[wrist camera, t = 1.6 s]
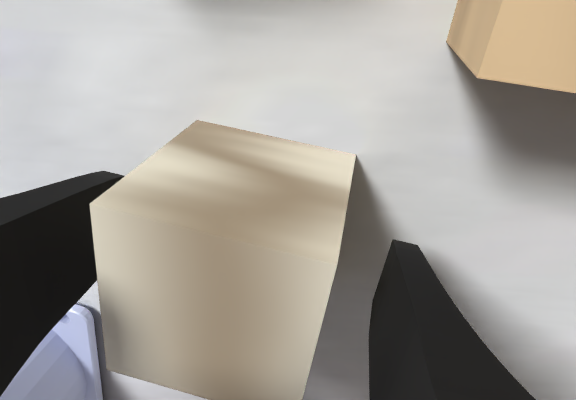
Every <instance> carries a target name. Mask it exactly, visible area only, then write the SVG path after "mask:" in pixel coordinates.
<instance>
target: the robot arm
mask: <svg viewBox="0 0 576 400" xmlns="http://www.w3.org/2000/svg"><path fill="white" fill-rule="evenodd" d="M123 177H124V176H123V175H119V174H115V173H110V172H106V171H100V172H95V173H90V174H86V175H82V176H78V177H75V178H71V179H68V180H64V181H61V182H57V183H54V184H50V185H47V186H43V187H40V188H36V189H33V190H29V191H26V192H22V193H19V194H15V195H11V196H7V197H3V198H0V400H103V395H102V387H101V379H100V370H99V362H98V353H97V345H96V336H95V328H94V320H93V316H92V313H91V312H90V311H89V310H88V309H87V308H85V307H83V306H80V305H76V304H75V303H76V302H77V301H78V300H79V299H80V298H81V297H82V296H83V295H84V294H85V293H86V292H87V290H88V289H89V288H90V287H91V286H92V285H93V284H94V283H95V282H96V281H97V272H96V262H95V253H94V243H93V233H92V224H91V214H90V203H91V202H92V201H94V200H95V199H96V198H98V197H99V196H100V195H101V194H103V193H104V192H105V191H107V190H108V189H109V188H110V187H112V186H113V185H114V184H116V183H117V182H118V181H119V180H121V179H122V178H123ZM369 389H370V400H536V399H534V398H533V397H532V396H531V395H530V394H529V393H528V392H527V391H526V390H525V389H524V388H523V387H522V385H521V384H520V383H519V382H518V381H517V380H516V379H515V378H514V377H513V376H512V375H511V374H510V373H509V372H508V370H507V369H506V368H505V367H504V366H503V365H502V364H501V363H500V361H499V360H498V359H497V358H496V357H495V356H494V355H493V354H492V352H491V351H490V350H489V349H488V348H487V346H486V345H485V344H484V343H483V342H482V340H481V339H480V338H479V337H478V335H477V334H476V333H475V331H474V330H473V329H472V327H471V326H470V325H469V323H468V322H467V321H466V320H465V318H464V317H463V316H462V314H461V313H460V311H459V310H458V308H457V307H456V306H455V304H454V303H453V301H452V300H451V298H450V297H449V295H448V294H447V292H446V291H445V289H444V288H443V286H442V284H441V283H440V281H439V280H438V278H437V276H436V275H435V273H434V271H433V270H432V268H431V266H430V265H429V263H428V261H427V260H426V258H425V257H424V255H423V253H422V252H421V250H420V248H419V247H418V245H415V244H411V243H406V242H402V241H398V240H394V239H393V241H392V244H391V247H390V250H389V253H388V256H387V259H386V262H385V265H384V268H383V271H382V274H381V277H380V280H379V283H378V286H377V289H376V292H375V295H374V298H373V302H372V311H371V319H370V329H369Z"/></svg>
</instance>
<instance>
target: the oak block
mask: <svg viewBox="0 0 576 400" xmlns="http://www.w3.org/2000/svg"><path fill="white" fill-rule="evenodd" d="M446 42H447V43H448V45H449V46H450V47H451V48H452V49H453V50H454V52H455V53H456V54H457V55H458V56H459V57H460V59H461V60H462V61H463V62H464V63H465V64H466V66H467V67H468V68H469V69H470V70H471V72H472V73H473V74H474V75H475V76H476V77H477V78H481V79H487V80H494V81H500V82H506V83H513V84H519V85H526V86H532V87H538V88H545V89H551V90H558V91H564V92H571V93H576V0H458V2H457V5H456V9H455V13H454V16H453V20H452V23H451V27H450V30H449V34H448V37H447V41H446Z"/></svg>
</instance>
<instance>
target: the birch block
mask: <svg viewBox="0 0 576 400" xmlns="http://www.w3.org/2000/svg"><path fill="white" fill-rule="evenodd" d="M355 158H356V154H351V153H346V152H342V151H337V150H333V149H328V148H323V147H319V146H314V145H310V144H305V143H300V142H296V141H291V140H286V139H282V138H277V137H273V136H268V135H263V134H259V133H254V132H250V131H245V130H240V129H236V128H231V127H227V126H222V125H217V124H213V123H208V122H203V121H199V120H197V121H195V122H194V123H193V124H191V125H190V126H189V127H188V128H186V129H185V130H184V131H182V132H181V133H180V134H179V135H177V136H176V137H175V138H173V139H172V140H171V141H170V142H168V143H167V144H166V145H164V146H163V147H162V148H161V149H159V150H158V151H157V152H155V153H154V154H153V155H152V156H150V157H149V158H148V159H146V160H145V161H144V162H143V163H141V164H140V165H139V166H137V167H136V168H135V169H134V170H132V171H131V172H130V173H128V174H127V175H126V176H125V177H123V178H122V179H121V180H119V181H118V182H117V183H116V184H114V185H113V186H112V187H110V188H109V189H108V190H107V191H105V192H104V193H103V194H101V195H100V196H99V197H98V198H96V199H95V200H94V201H92V202H91V203H90V214H91V224H92V233H93V243H94V253H95V262H96V272H97V282H98V291H99V301H100V311H101V320H102V330H103V340H104V349H105V359H106V369H107V370H109V371H113V372H116V373H120V374H123V375H127V376H130V377H133V378H137V379H140V380H144V381H147V382H151V383H154V384H158V385H161V386H164V387H168V388H171V389H175V390H178V391H182V392H185V393H189V394H192V395H195V396H199V397H202V398H206V399H209V400H302V398H303V394H304V391H305V387H306V383H307V379H308V375H309V371H310V368H311V364H312V360H313V356H314V352H315V349H316V345H317V341H318V337H319V333H320V329H321V326H322V322H323V318H324V314H325V310H326V306H327V303H328V299H329V295H330V291H331V287H332V283H333V280H334V276H335V272H336V268H337V264H338V258H339V252H340V246H341V240H342V234H343V229H344V223H345V217H346V211H347V205H348V199H349V193H350V187H351V181H352V175H353V170H354V164H355Z"/></svg>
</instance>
